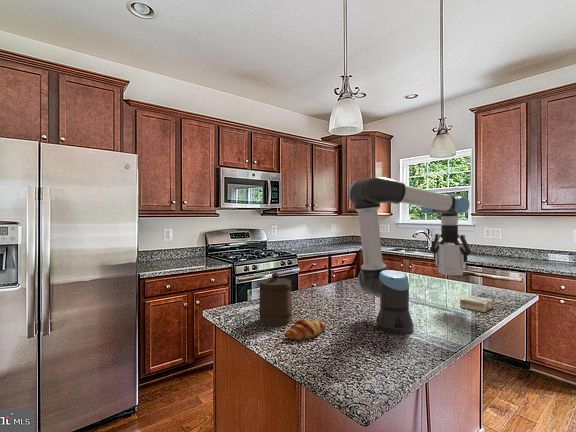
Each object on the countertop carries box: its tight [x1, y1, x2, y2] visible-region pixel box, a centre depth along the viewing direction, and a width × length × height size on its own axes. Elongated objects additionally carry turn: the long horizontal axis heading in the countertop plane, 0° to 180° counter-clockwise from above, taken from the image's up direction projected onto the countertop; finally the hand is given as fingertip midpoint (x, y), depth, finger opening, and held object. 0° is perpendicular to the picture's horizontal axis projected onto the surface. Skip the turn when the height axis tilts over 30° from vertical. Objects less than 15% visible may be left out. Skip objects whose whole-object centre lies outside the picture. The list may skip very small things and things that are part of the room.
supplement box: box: [437, 243, 464, 276], centre depth 159 cm, size 9×9×15 cm
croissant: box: [284, 318, 328, 341], centre depth 127 cm, size 21×10×8 cm, turn 126°
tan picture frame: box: [459, 295, 493, 313], centre depth 159 cm, size 11×11×4 cm
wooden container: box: [258, 272, 293, 327], centre depth 143 cm, size 15×15×22 cm
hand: (450, 266), depth 159 cm, fingers closed on supplement box, 12 cm apart
